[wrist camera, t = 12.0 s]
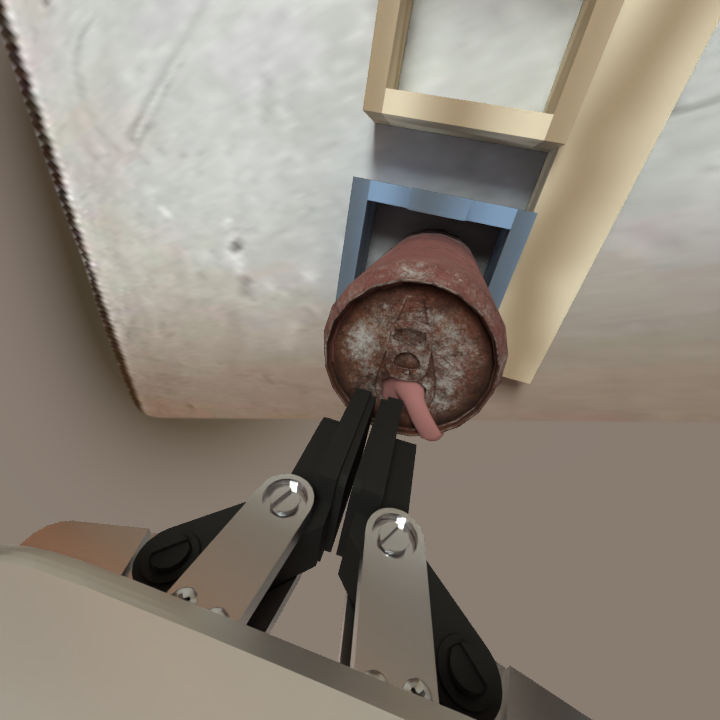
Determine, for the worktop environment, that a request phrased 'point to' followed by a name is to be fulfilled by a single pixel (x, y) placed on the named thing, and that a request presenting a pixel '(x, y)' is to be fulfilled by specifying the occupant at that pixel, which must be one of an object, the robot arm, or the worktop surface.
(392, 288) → the can
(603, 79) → the open rectangular box frame
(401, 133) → the worktop surface
